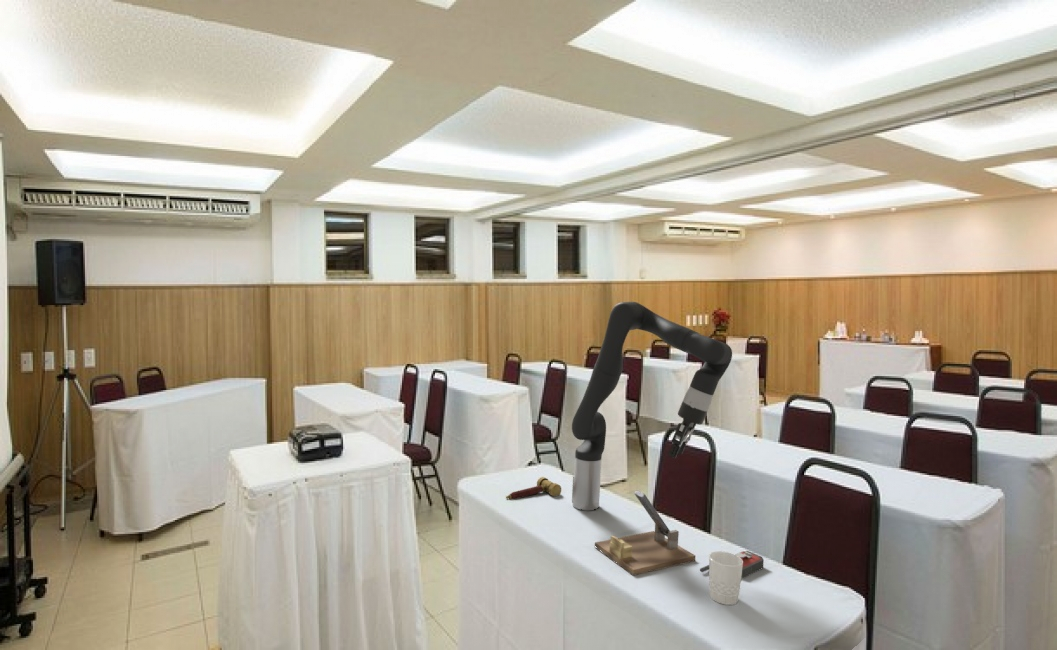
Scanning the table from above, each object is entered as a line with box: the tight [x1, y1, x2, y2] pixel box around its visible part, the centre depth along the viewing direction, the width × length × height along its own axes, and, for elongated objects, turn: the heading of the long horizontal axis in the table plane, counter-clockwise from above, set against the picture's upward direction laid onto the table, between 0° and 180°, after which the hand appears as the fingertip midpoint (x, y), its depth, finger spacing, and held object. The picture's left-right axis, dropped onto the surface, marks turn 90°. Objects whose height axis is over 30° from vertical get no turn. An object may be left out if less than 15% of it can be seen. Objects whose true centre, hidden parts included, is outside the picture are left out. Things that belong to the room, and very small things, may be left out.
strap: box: [633, 489, 671, 538], centre depth 163 cm, size 4×18×2 cm
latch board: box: [594, 523, 696, 576], centre depth 162 cm, size 18×22×6 cm
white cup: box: [708, 551, 743, 606], centre depth 139 cm, size 8×8×10 cm
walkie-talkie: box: [699, 550, 765, 579], centre depth 155 cm, size 9×4×20 cm
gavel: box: [505, 476, 562, 500], centre depth 207 cm, size 21×5×10 cm
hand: (674, 455), depth 166 cm, fingers open, 8 cm apart
